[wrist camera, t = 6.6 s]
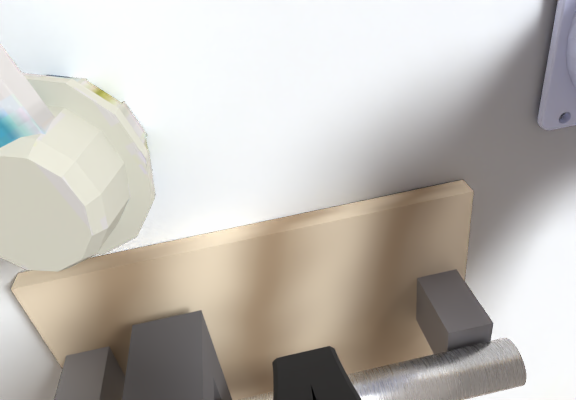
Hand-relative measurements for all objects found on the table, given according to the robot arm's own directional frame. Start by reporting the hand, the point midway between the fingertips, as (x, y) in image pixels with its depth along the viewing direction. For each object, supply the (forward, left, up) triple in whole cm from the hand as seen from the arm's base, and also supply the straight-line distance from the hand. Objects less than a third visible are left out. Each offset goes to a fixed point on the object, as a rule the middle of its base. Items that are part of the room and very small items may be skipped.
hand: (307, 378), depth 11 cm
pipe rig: (+1, +9, -10) cm, 14 cm away
